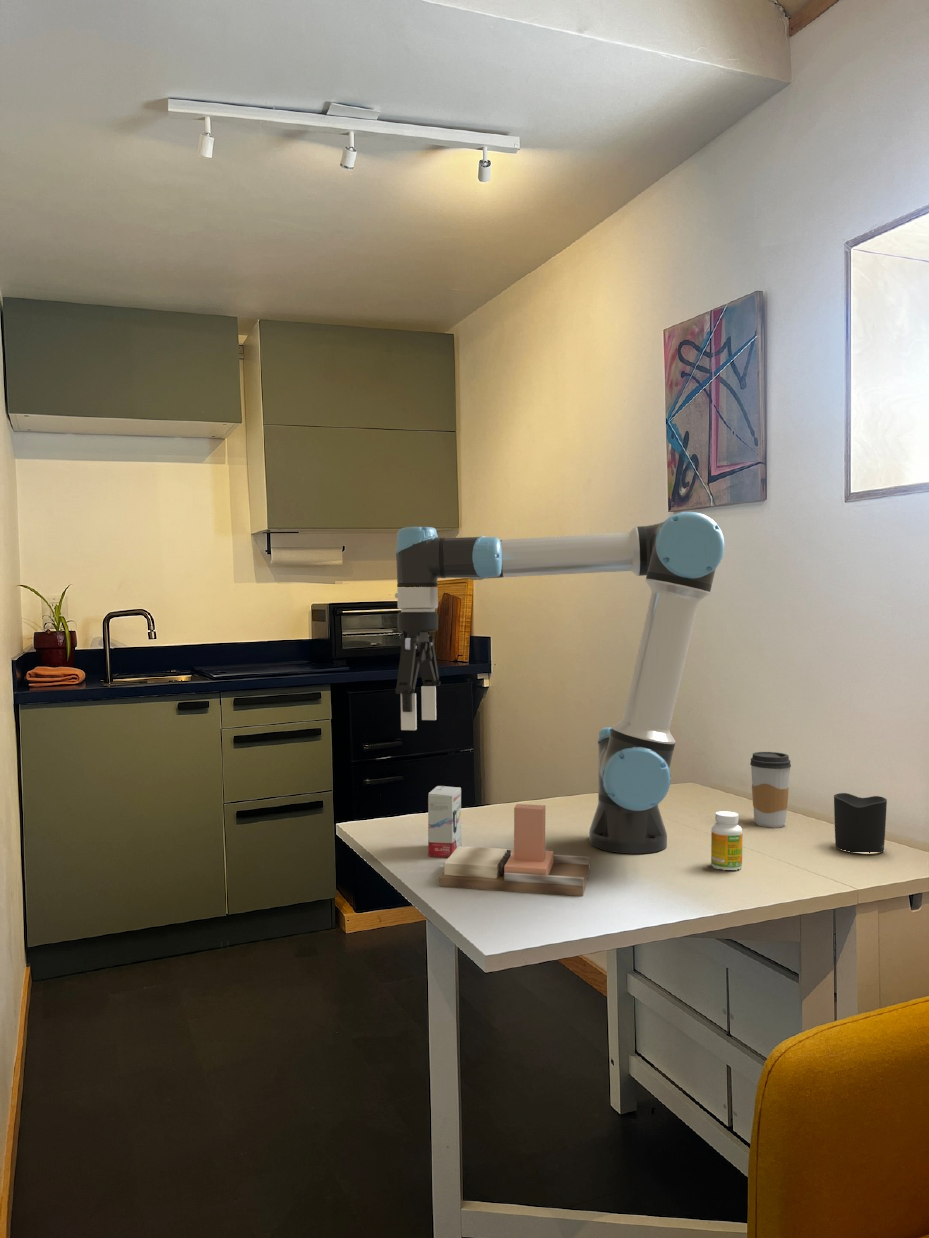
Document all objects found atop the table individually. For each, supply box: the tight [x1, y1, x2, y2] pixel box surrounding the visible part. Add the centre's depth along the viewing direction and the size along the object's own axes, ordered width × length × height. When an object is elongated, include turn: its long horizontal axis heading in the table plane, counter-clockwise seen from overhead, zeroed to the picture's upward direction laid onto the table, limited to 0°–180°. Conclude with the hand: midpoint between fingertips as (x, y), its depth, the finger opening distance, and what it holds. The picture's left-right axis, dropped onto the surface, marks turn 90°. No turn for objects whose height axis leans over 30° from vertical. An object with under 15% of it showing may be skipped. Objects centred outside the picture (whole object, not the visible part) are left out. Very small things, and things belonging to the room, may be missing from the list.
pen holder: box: [833, 792, 888, 853], centre depth 180 cm, size 9×9×10 cm
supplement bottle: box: [710, 810, 743, 871], centre depth 168 cm, size 5×5×10 cm
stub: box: [504, 803, 555, 875], centre depth 160 cm, size 7×11×11 cm, turn 168°
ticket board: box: [438, 845, 590, 897], centre depth 161 cm, size 24×14×4 cm, turn 78°
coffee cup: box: [749, 751, 792, 829], centre depth 199 cm, size 8×8×15 cm
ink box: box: [427, 785, 462, 858], centre depth 178 cm, size 9×5×12 cm, turn 168°
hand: (419, 724), depth 174 cm, fingers open, 13 cm apart
